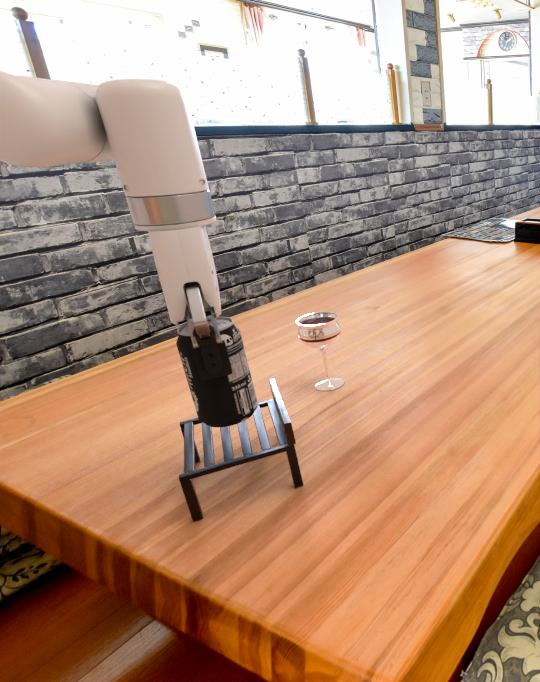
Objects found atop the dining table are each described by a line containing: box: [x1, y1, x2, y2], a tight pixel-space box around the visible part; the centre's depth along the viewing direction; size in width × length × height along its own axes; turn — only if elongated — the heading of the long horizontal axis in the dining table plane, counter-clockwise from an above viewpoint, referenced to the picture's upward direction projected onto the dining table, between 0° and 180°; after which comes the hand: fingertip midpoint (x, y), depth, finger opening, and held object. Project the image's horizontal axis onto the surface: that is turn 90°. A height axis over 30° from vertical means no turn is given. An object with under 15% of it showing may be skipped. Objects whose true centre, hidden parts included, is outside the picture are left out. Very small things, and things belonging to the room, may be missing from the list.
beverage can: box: [175, 315, 258, 428], centre depth 63 cm, size 7×7×12 cm
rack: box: [178, 378, 304, 522], centre depth 67 cm, size 12×14×9 cm
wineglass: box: [295, 311, 345, 392], centre depth 89 cm, size 7×7×12 cm
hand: (215, 363), depth 62 cm, fingers closed on beverage can, 6 cm apart
